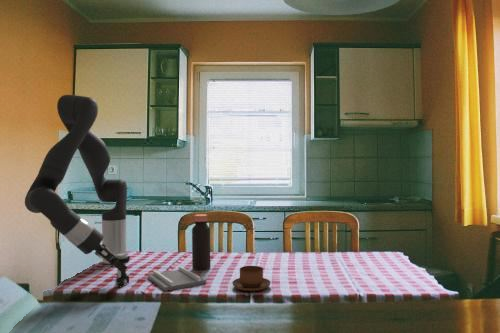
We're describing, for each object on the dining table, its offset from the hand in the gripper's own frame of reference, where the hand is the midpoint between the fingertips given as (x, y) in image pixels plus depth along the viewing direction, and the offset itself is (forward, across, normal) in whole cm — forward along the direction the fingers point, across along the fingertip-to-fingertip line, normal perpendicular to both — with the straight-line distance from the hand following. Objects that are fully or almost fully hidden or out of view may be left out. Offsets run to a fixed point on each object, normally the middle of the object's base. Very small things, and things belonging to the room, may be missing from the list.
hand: (121, 267), depth 127 cm
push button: (+4, 0, +5) cm, 6 cm away
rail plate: (+16, -5, -8) cm, 18 cm away
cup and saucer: (+28, -25, -19) cm, 43 cm away
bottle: (+26, +5, -17) cm, 32 cm away
